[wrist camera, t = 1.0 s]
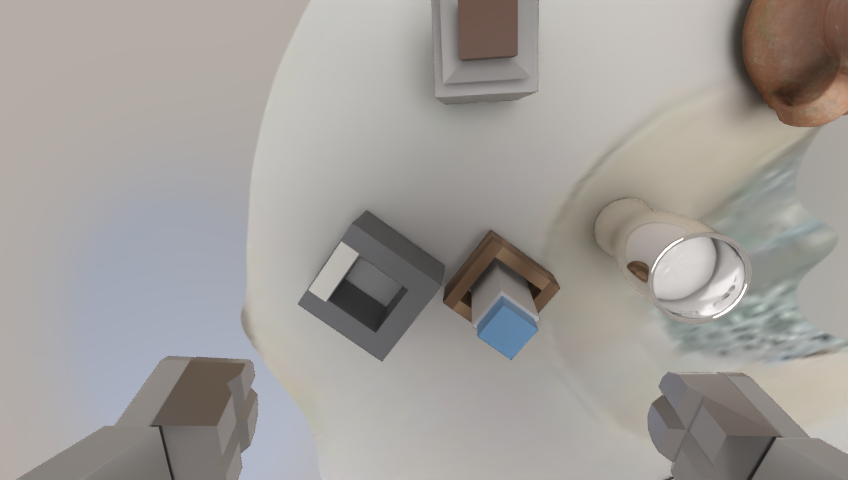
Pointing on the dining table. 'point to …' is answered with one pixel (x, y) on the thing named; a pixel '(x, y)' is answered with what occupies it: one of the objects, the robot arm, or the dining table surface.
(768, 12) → the ceramic jug
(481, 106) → the dining table surface
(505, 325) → the plug
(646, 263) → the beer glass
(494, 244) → the holster
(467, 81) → the perfume bottle
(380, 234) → the port
